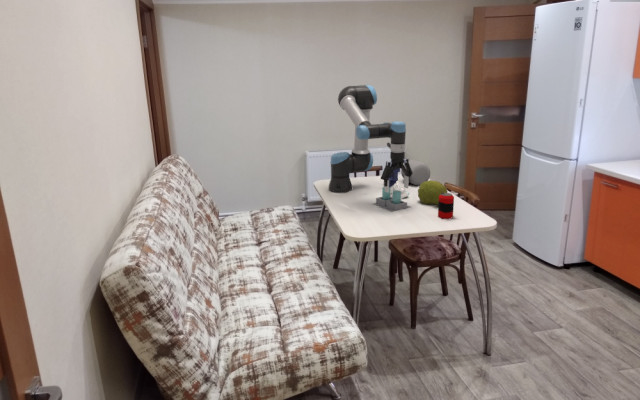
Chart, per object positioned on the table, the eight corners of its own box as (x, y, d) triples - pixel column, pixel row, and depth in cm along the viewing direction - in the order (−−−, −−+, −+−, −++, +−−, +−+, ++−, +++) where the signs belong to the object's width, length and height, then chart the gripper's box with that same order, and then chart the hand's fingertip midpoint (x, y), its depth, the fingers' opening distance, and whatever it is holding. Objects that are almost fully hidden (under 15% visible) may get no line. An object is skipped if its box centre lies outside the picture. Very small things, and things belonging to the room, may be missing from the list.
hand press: (403, 191, 291) (404, 146, 283) (389, 192, 289) (390, 147, 281) (393, 184, 309) (394, 142, 301) (380, 185, 307) (381, 142, 299)
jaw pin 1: (380, 203, 265) (380, 187, 262) (386, 202, 267) (386, 186, 264) (385, 205, 261) (385, 189, 259) (391, 203, 263) (392, 188, 261)
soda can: (441, 213, 248) (442, 191, 244) (455, 216, 243) (456, 193, 240) (435, 217, 242) (436, 194, 239) (449, 219, 238) (450, 197, 234)
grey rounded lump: (400, 180, 298) (390, 166, 321) (413, 195, 304) (402, 181, 326) (423, 160, 295) (411, 148, 317) (436, 176, 300) (424, 163, 323)
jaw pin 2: (390, 207, 258) (391, 191, 255) (396, 205, 260) (397, 190, 257) (395, 209, 254) (396, 193, 251) (402, 207, 256) (402, 191, 254)
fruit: (442, 199, 272) (452, 179, 262) (440, 215, 262) (451, 195, 252) (415, 190, 273) (424, 170, 263) (413, 205, 262) (422, 185, 252)
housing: (371, 205, 265) (371, 198, 264) (390, 201, 272) (390, 194, 270) (391, 213, 250) (391, 206, 249) (411, 208, 257) (412, 201, 256)
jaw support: (410, 196, 268) (397, 184, 267) (398, 207, 271) (386, 195, 270) (410, 191, 279) (398, 179, 279) (399, 201, 283) (387, 190, 282)
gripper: (383, 155, 239) (382, 195, 245) (420, 149, 251) (418, 187, 257) (374, 153, 245) (373, 192, 251) (410, 147, 257) (409, 184, 263)
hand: (396, 189), depth 254 cm, fingers open, 13 cm apart
